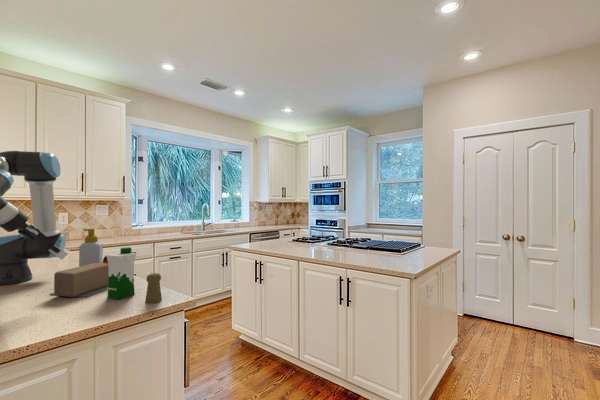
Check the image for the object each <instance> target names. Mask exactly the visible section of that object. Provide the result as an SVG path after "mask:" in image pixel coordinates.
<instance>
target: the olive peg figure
mask: <svg viewBox="0 0 600 400" xmlns="http://www.w3.org/2000/svg"><path fill="white" fill-rule="evenodd" d="M161 280H162V276H161V274H160V273H158V272H157V273H156V272H154V273H149V274H148V275H147V276H146V282H147V288H146V295H145V300H144V301H145V302H144V303H145V304H148V305H150V304H157V303H160V301H161V302H162V300H163V299H162V298H163V297H162V291H161V283H160V281H161Z"/></svg>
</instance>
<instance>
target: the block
mask: <svg viewBox="0 0 600 400" xmlns="http://www.w3.org/2000/svg"><path fill="white" fill-rule="evenodd" d="M53 279H54V282H53V283H54V284H53V288H54V289H53V291H54V292H53V293H54V294H55V295H54V296H57V297H68V298H74V297H76V296H78V295H81V294H84V293H87V292H90V291H93V290H96V289H99V288H102V287H105V286H108V264H107V263H93V264H89V265H84V266H80V267H79V266H77V267H72V268H67V269H64V270H60V271H56V272H54V277H53Z"/></svg>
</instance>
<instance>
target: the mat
mask: <svg viewBox="0 0 600 400" xmlns="http://www.w3.org/2000/svg"><path fill="white" fill-rule="evenodd" d="M104 291H108V286H105V287H102V288H99V289H96V290H93V291H90V292H87V293H84V294H81V295H78V296H75V297H77V298H89V297H92V296H94V295H96V294H100V293H103V292H104ZM49 295H50V296H55V294H54V292H51V293H49Z"/></svg>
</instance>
